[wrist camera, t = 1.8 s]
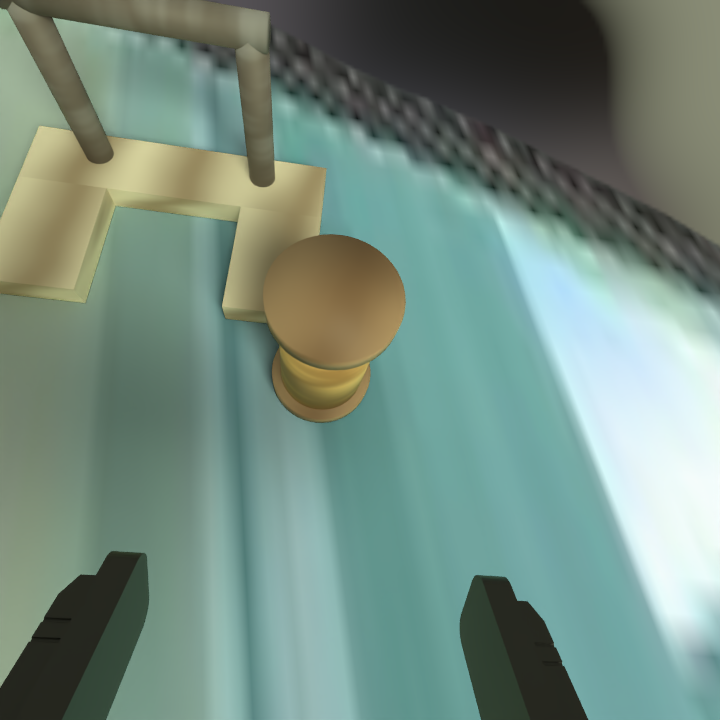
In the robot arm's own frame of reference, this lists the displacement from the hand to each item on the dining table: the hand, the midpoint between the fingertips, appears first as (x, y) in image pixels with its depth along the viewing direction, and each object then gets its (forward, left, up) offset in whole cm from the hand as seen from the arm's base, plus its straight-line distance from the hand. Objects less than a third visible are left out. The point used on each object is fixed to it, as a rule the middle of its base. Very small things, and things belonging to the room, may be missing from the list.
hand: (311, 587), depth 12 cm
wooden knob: (0, +10, -13) cm, 17 cm away
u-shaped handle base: (-10, +18, -13) cm, 25 cm away
